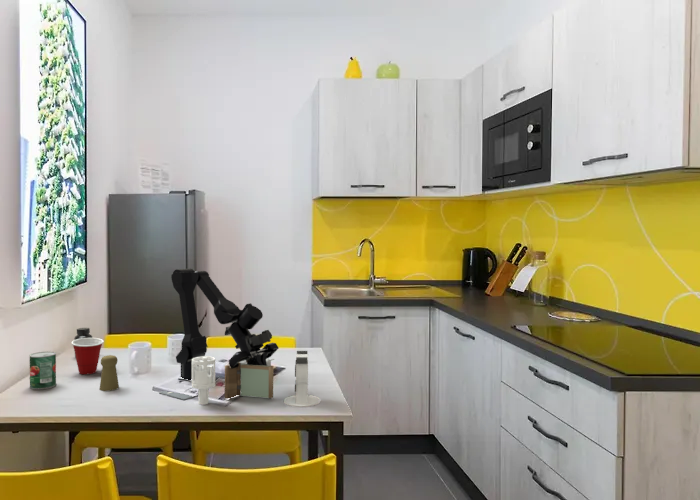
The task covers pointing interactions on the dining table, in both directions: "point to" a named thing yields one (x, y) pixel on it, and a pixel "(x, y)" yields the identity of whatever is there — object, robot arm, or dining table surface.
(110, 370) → the cork
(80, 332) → the supplement bottle
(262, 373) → the folding section
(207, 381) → the white stepped cylinder
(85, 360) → the plastic cup
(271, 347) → the robot arm
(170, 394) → the card
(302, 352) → the white stand
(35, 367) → the canned tomato
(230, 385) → the fence fixed
